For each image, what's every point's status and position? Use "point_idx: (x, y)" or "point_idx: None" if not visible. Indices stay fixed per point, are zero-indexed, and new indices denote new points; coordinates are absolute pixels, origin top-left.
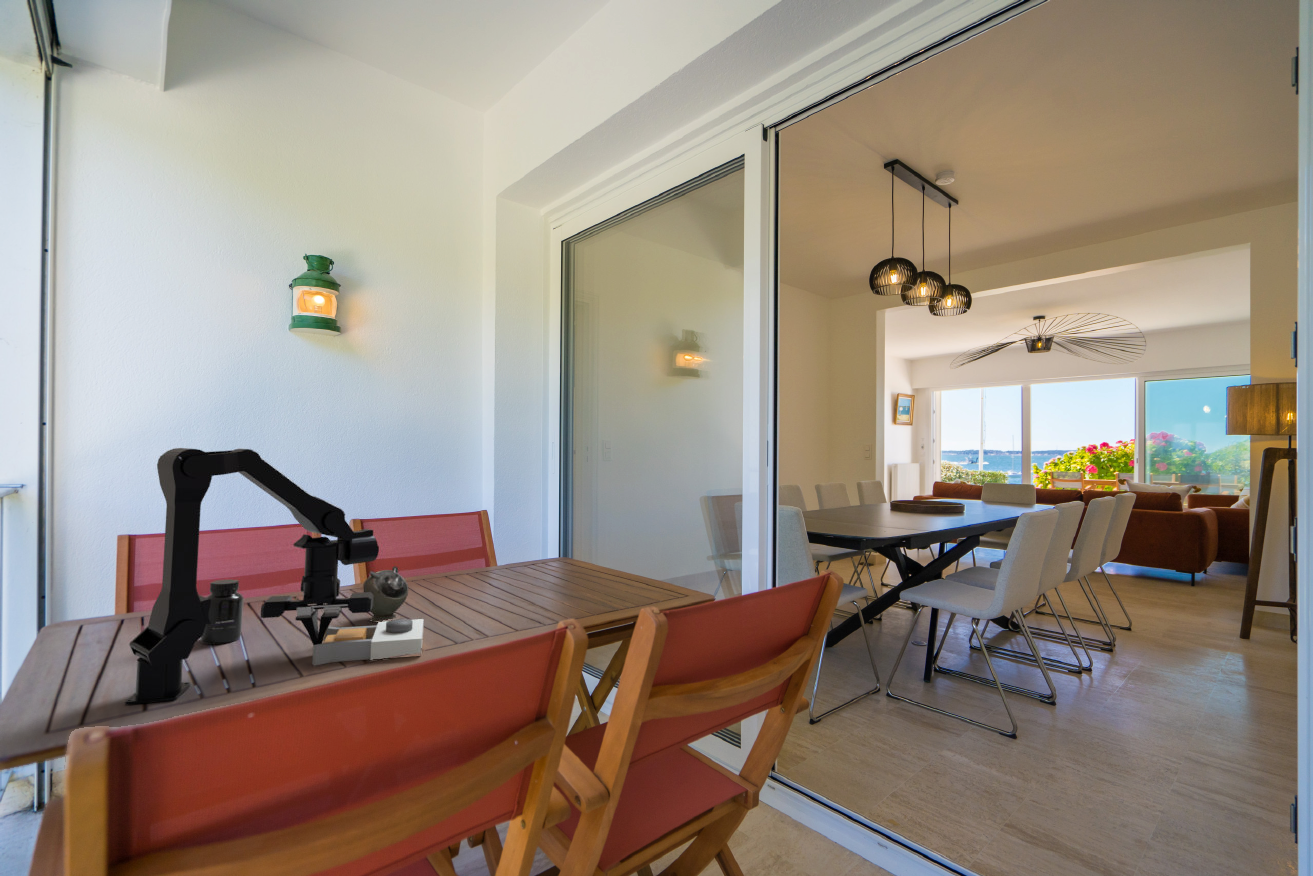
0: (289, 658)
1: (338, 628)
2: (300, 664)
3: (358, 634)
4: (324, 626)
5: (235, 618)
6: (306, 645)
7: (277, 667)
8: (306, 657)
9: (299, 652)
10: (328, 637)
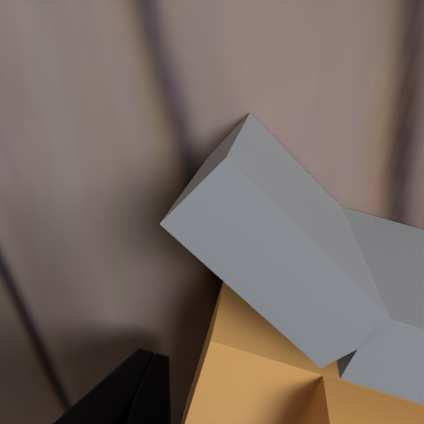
0: (23, 312)
1: (347, 340)
2: None
3: None
4: None
5: None
6: (75, 74)
7: (4, 395)
8: (109, 343)
9: (55, 235)
10: (210, 407)
